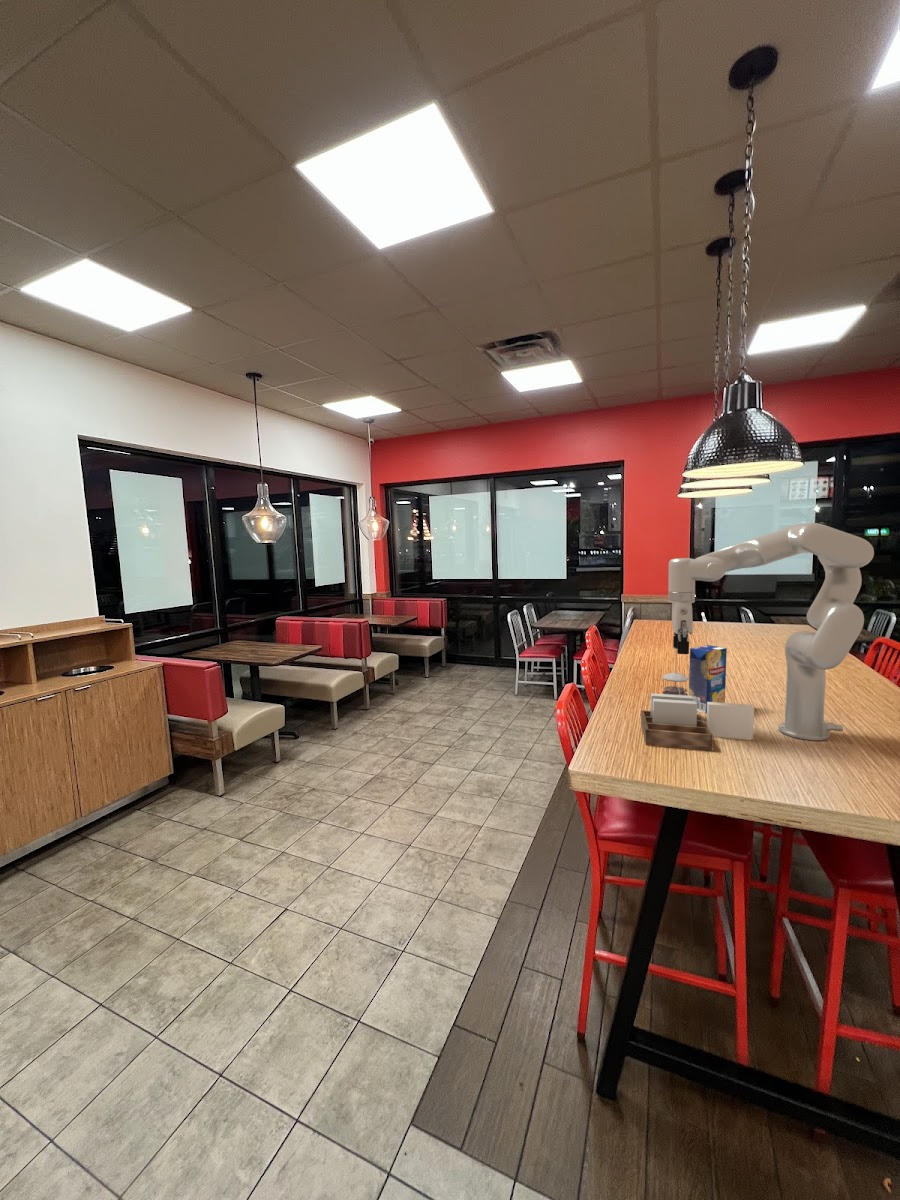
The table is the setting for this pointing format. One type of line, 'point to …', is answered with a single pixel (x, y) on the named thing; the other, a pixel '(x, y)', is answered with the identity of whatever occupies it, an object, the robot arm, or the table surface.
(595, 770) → the table surface
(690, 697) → the racked plate far
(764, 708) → the table surface
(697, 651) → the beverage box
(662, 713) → the racked plate mid
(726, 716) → the plate
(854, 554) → the robot arm
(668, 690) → the french press
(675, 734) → the rack
